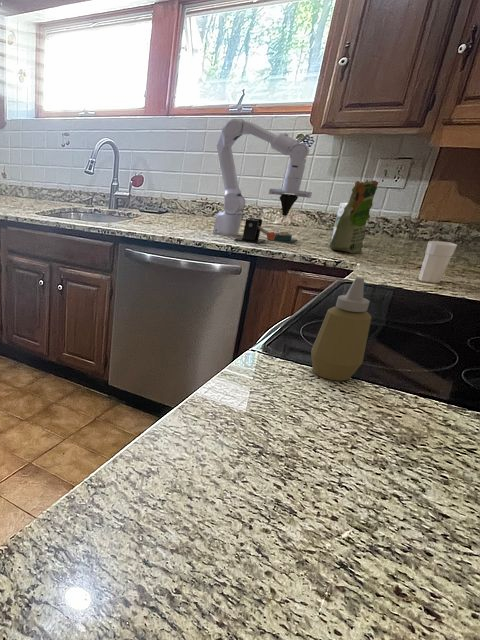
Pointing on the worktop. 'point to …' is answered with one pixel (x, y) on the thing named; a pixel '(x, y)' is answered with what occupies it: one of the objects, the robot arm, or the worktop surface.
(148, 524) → the worktop surface
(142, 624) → the worktop surface
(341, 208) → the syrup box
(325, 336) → the squeeze bottle
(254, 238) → the switch bracket
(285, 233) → the button
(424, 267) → the cup
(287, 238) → the button block
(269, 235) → the switch lever
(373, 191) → the pouch
